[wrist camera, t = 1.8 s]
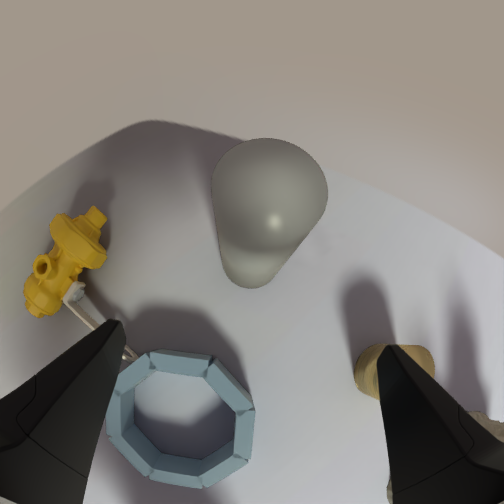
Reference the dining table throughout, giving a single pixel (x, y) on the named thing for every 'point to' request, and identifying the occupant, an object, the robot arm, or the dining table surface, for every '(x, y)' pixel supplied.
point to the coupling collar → (172, 466)
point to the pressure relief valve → (67, 268)
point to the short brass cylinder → (368, 370)
